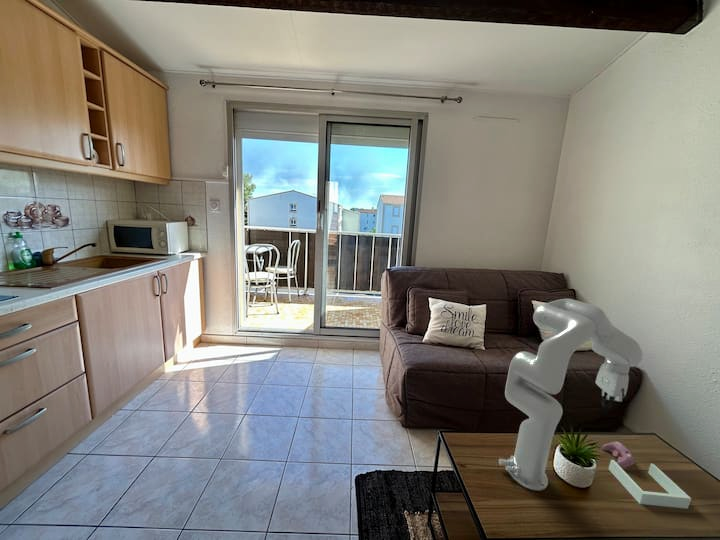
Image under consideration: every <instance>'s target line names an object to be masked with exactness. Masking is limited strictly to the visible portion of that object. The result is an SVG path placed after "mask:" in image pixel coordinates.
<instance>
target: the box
mask: <svg viewBox="0 0 720 540" xmlns="http://www.w3.org/2000/svg"><path fill="white" fill-rule="evenodd" d="M616 462H617V461H615V460H614V459H610V462H609V465H608V470H609V471H610V472H611V474H613V476H614V477H615V478H616V479H617V480H618V482H619V483H621V485H622V486H623V487H624V488H625V489H626V490H627V491H628V492H629V494H630V495H631V496H632V497H633V499H635V501H636V502H637V503H638V504H639V505H647V506H657V507H667V508H678V509H687V510H688V509H689V506H690V504H691V501H692V498H691V496H690V495H688V494H687V493H686V492H685V491H684V490H683V489H681V487H680V486H678V485H677V483H675V482H674V481H673V480H672V479H671V478H670V477H668V476H667V475H666V474H665V473H664V472H663V471H662V469H660V468H659V467H658V466H657V465H656V464H655V463H650V465H649V468H648V471H647V474H649V476H651V478H652V479H653V480H654V481H656V482H657V484H659V486H661V488H663V490H664V491H666V492H657V491H647V490H646V491H645V490H644V489H642V488H641V487H640V486H639V485H638V484H637V483H636V482H635V481H634V479H632V478H631V477H630V475H629V474H628V473H627V472H626V471H625V470H624V468H621V467H620V466H619V465H618V464H617V463H616Z"/></svg>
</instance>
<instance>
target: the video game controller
mask: <svg viewBox="0 0 720 540" xmlns="http://www.w3.org/2000/svg"><path fill="white" fill-rule="evenodd" d="M601 450H602V451H608V452H609V451H612V452H611V453H612V456H613V457H615V458H617V461H615V462H616V463H617V464H618V465H619V466H620V467H621V468H622V469H624V468H628V467H630V466H633V465H634V464H635V457H633V454H632V453H631V452H630V450H629V449H628V448H627V447H626V446H625V445H624V444H622V443H620V442H618V441H612V442H608V443H604V444H603V445H602V446H601Z"/></svg>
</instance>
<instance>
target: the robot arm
mask: <svg viewBox="0 0 720 540" xmlns="http://www.w3.org/2000/svg"><path fill="white" fill-rule="evenodd" d="M532 319H533V322H534V324H535V325H536V326H537V327H538V328H540V329H542V330H543V331H547V332H550V333H552V334H554V335H552V336H551V337H548V338H547V339H545V340H544V341H542V342H541V343H540V344H539V346H538V349H537V354H534V353H532V352H530V351H529V352H528V351H525V350H524V351H519V352H517V353H515V354H514V356H513V357H512V359H511V361H510V364H509V368H508V372H507V377H506V378H507V379H506V383H505V388H504V389H505V390H504V397H505V399H506V401H507V402H508V403H510V404H511V405H512V406H514V407H515V408H517V409H518V410H520V411H521V412H522V413H524V414H525V415H527V416H528V418H526V419H524V420H523V421H521V422H520V423H521V424H519V425H520V426H519V428H518V429H519V430H518V435H517V441H516V443H515V444H516V445H515V450H514V455H510V458H507V459H505V458H498V464H499V466H505V471H507V472H508V473H509V475H510V477H512V479H513V480H514V481H516V482H517V483H518V484H519V485H521V486H523V487H524V488H526V489H528V490H531V491H539V492H541V491H543V490H545V489H547V487H548V485H549V478H548V476H547V474H546V468H547V465H548V464H547V463H548V460H549V455H550V451H551V447H552V441H553V438H554V436H555V435H554V434H555V431H556V429H557V426H558V425H559V423H560V420H561V419H562V416H563V413H564V412H563V407H562V405H561V403H560V402H559V401H558V400H557V399H556V398H555V397H553V396H552V395H557V394H558V393H560V392H561V391H562V388H563V385H564V382H565V378H566V373H567V369H568V366H569V362H570V360H571V359H570V358H571V356H572V355H573V353H575V351H577V350H578V349H579V348H580V347H582V346H583V345H584V344H585V343H586V342H588V341H589V340H590V341H591V349H592V351H593V352H594V353H596V354H597V355H599V356H601V357H604V358H605V359H604V363H602V364H601V366H600V367H599V370H598V372H597V375H596V378H595V384H596V385H597V387H599V388H600V389H601V396H602V398H601V402H600V405H601V406H602V407H603V408H607V409H612V408H613V403H614V401H615V402H623V399H624V398H625V397H626V396H627V392H628V388H629V380H630V376H629V371H630V368H631V367H632V368H633V367H637V366H638V365H640V363H641V362H642V360H643V351H642V348H641V346H640V344H639V343H638V342H637V341H636V340H635V339H634V338H632V337H631V336H629V335H627V334H626V333H624V332H623V331H621V330H619V328H616V327H615V326H614V325H613V324H612V322H611V320H609V318H608V315H606V313H605V312H604V310H603V309H602V308H600V307H598V306H596V305H594V304H591V303H588V302H583V301H579V300H576V299H573V298H562V299H556V300H553V301H550V302H549V301H548V302H546V303H543V304H541V305H539V306H538V307H537V308H536V309H535V311H534V312H533V315H532Z"/></svg>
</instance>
